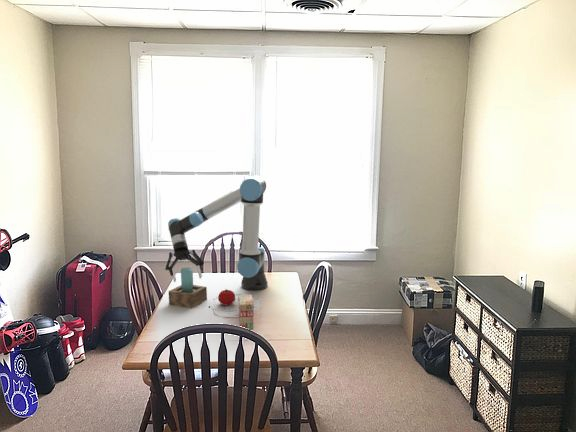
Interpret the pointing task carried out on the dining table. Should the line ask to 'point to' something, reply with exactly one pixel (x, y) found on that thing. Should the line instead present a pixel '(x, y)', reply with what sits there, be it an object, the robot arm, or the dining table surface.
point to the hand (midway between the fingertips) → (188, 278)
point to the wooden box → (188, 296)
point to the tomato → (226, 297)
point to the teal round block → (187, 280)
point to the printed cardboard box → (246, 311)
